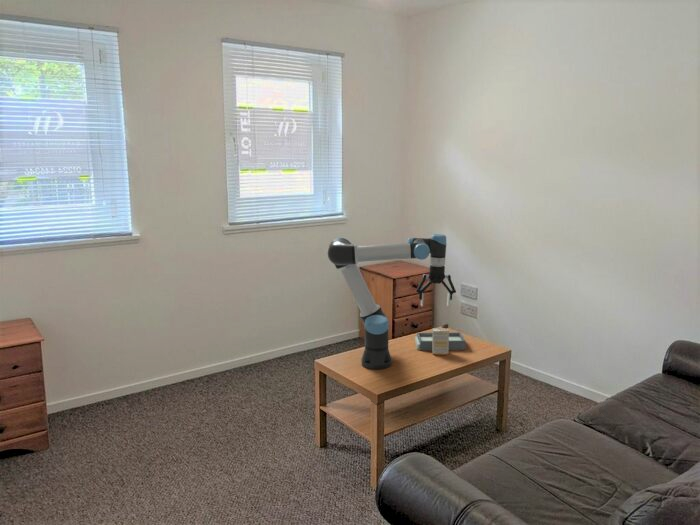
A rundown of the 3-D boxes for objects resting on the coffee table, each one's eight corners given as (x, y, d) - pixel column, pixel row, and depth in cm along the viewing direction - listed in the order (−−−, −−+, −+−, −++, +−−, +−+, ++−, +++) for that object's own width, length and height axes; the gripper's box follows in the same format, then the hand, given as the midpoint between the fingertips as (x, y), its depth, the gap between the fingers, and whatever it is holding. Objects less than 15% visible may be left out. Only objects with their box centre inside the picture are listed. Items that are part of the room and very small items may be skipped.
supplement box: (447, 352, 289) (448, 328, 287) (448, 355, 285) (449, 331, 282) (431, 351, 290) (432, 327, 288) (432, 354, 285) (432, 330, 283)
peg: (440, 344, 301) (441, 323, 298) (447, 344, 301) (447, 323, 298) (441, 346, 297) (442, 325, 295) (448, 346, 297) (448, 325, 295)
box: (417, 350, 292) (418, 341, 291) (414, 341, 306) (414, 332, 305) (465, 349, 292) (465, 340, 291) (460, 340, 306) (460, 332, 305)
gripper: (414, 266, 273) (412, 307, 277) (463, 267, 274) (460, 308, 278) (411, 263, 280) (409, 303, 284) (460, 264, 281) (457, 304, 286)
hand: (435, 305), depth 281 cm, fingers open, 13 cm apart
